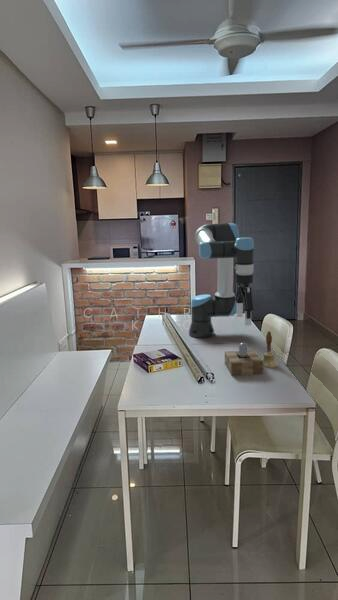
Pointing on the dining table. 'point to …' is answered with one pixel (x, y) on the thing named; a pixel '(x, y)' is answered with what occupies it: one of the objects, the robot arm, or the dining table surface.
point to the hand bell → (269, 354)
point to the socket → (243, 363)
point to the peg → (242, 350)
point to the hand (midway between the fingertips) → (243, 321)
